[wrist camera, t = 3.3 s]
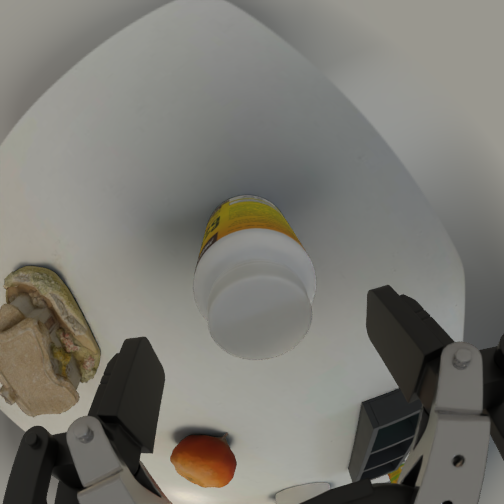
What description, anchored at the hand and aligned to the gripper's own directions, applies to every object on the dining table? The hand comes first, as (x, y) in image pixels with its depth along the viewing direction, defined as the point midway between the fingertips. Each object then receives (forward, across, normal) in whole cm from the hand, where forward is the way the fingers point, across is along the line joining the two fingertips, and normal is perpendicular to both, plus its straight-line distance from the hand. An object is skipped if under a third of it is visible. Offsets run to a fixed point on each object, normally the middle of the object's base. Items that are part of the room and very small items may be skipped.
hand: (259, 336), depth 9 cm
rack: (+11, -14, +37) cm, 41 cm away
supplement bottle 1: (+11, 0, 0) cm, 11 cm away
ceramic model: (+11, +21, +5) cm, 24 cm away
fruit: (+11, +11, +26) cm, 30 cm away
